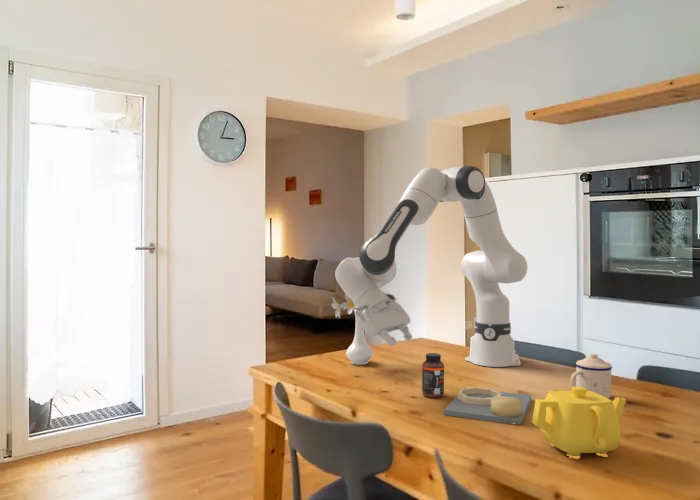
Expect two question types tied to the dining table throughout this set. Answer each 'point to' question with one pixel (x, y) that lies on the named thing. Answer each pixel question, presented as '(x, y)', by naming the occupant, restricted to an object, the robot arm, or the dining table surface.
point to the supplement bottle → (433, 376)
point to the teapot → (579, 420)
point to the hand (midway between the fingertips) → (402, 341)
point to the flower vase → (359, 348)
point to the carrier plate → (489, 405)
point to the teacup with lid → (593, 375)
